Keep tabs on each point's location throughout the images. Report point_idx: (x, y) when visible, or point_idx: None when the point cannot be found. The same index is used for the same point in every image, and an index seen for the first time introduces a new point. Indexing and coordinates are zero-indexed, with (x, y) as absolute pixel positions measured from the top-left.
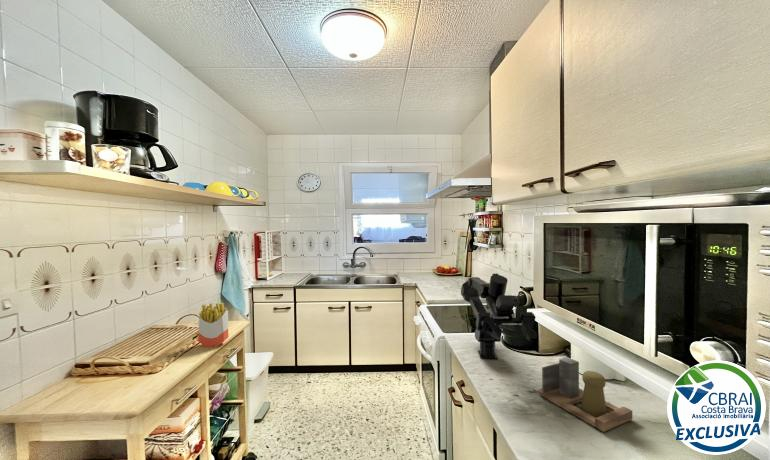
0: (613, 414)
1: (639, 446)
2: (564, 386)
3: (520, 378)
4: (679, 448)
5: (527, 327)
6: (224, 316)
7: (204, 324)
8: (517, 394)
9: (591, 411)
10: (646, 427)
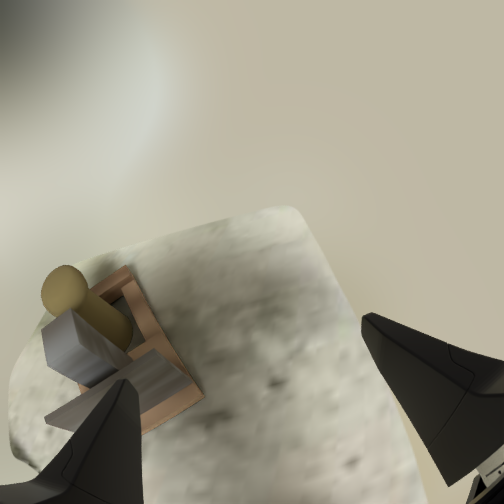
0: None
1: (106, 262)
2: (124, 363)
3: (238, 495)
4: None
5: (71, 453)
6: None
7: None
8: (271, 388)
9: (118, 311)
10: None
